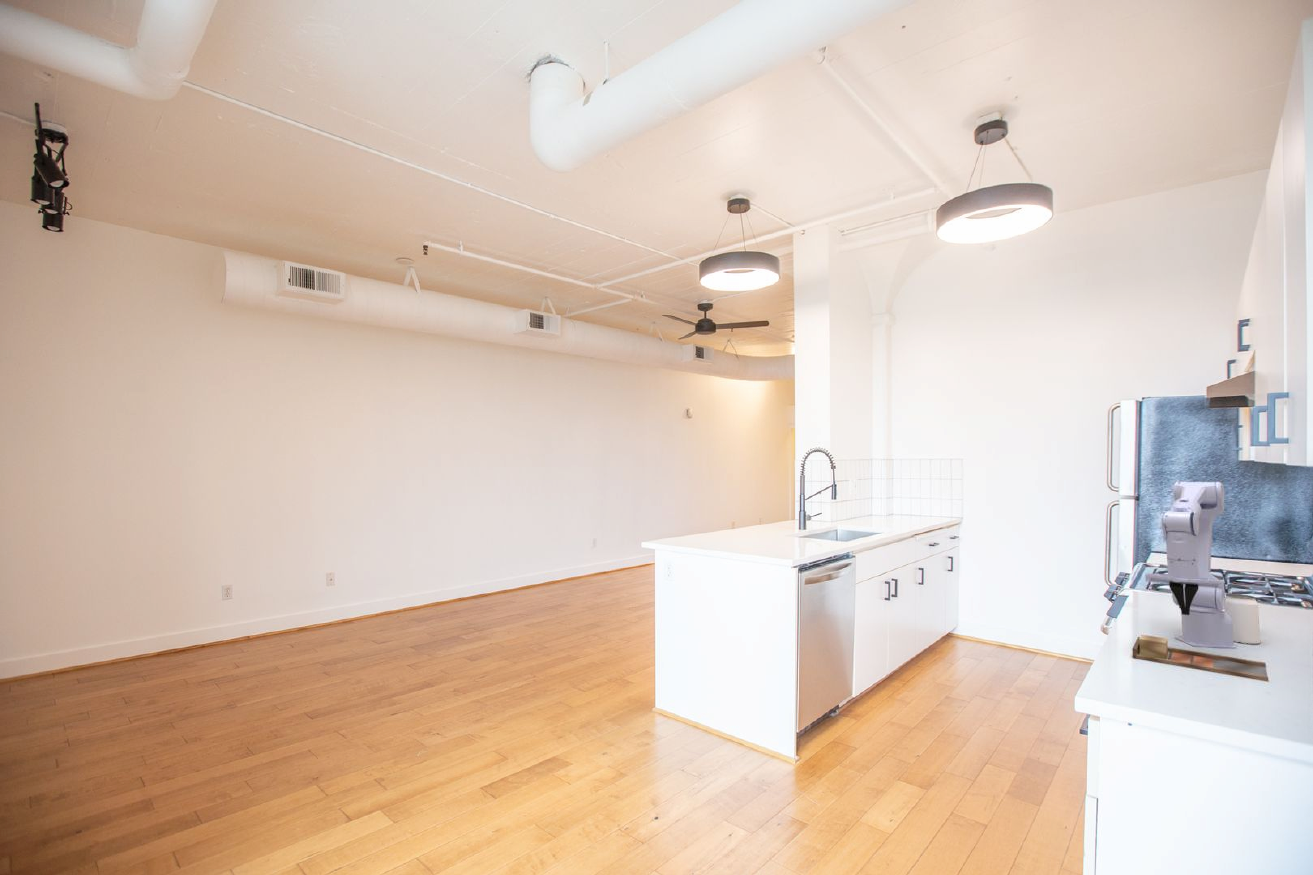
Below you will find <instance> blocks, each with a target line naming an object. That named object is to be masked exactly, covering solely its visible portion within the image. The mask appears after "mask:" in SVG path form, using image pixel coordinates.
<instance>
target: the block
mask: <svg viewBox="0 0 1313 875" xmlns="http://www.w3.org/2000/svg"><path fill="white" fill-rule="evenodd" d="M1139 637H1140V638H1139V645H1140V655H1144V656H1149V657H1155V658H1161V659H1167V657H1168V647H1169V646H1168V638H1167V637H1159V636H1152V635H1147V634H1146V635H1145V634H1140V636H1139Z"/></svg>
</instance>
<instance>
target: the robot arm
mask: <svg viewBox="0 0 1313 875" xmlns="http://www.w3.org/2000/svg"><path fill="white" fill-rule="evenodd" d="M1172 487H1173V488H1172V489H1173V490H1172V491H1173V498H1174V502H1173V503H1172V506H1171V507H1170V509H1169V510H1167V511H1166V512H1163V513H1161V519H1160V521H1161V525H1160V526H1161V528H1162V532H1163V538H1164V539H1163V540H1164V541H1165V545H1166V546H1165V547H1166V562H1167V563H1166V564H1167V573H1150V572H1146V573H1145V575H1144V576H1145V578H1144V579H1145V582H1147V583H1149V582H1150V583H1151V582H1152V583H1162V584H1169V589H1170V590H1171V597H1172V602H1173V603H1174V604H1175V605H1176V606H1178V608H1179V609H1180V614H1181V630H1182V636H1181V635H1180V636H1178V635H1174V639H1176V640H1178V641H1180V642H1183V643H1185V644H1188V645H1190V646H1192V647H1197V648H1219V649H1220V648H1221V649H1222V648H1223V649H1237V646H1236V645H1235V644H1234V643H1235V642H1234V638H1233V624H1232V620H1231V618H1230V616H1229V615H1228V614H1227V613H1226V612H1225V610H1224V608H1225V598H1226V592H1225V580H1224V579H1219V578H1218V577H1216V576H1214V575H1213V574H1211V567H1212V566H1211V564H1212V543H1213V542H1212V541H1213V540H1212V537H1213V525H1214V522H1215V518H1217V517H1219V516H1221V515H1223V513H1224V511H1225V487H1224V484H1223V483H1222V482H1221V481H1216V482H1215V481H1213V482H1211V481H1176V482H1175V483H1174V484H1173V486H1172Z"/></svg>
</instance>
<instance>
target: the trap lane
mask: <svg viewBox="0 0 1313 875" xmlns="http://www.w3.org/2000/svg"><path fill="white" fill-rule="evenodd" d="M1136 638H1137V639H1136V641H1135V642H1134V645H1133V647H1132V658H1133V659H1134V660H1135V659H1136V660H1140V661H1147V662H1152V663H1159V664H1164V665H1170V666H1176V667H1182V668H1186V669H1187V668H1189V669H1193V670H1200V671H1205V672H1210V673H1216V674H1217V673H1218V674H1221V675H1222V674H1223V675H1228V676H1234V677H1239V678H1245V679H1249V680H1250V679H1251V680H1256V681H1262V682H1269V676H1268V672H1267V667H1266V666H1267V665H1266V662H1265V661H1257V660H1251V659H1245V658H1238V657H1232V656H1225V655H1220V654H1213V653H1206V652H1202V651H1195V650H1194V651H1193V650H1189V649H1182V648H1181V649H1180V648H1175V647H1169V646H1168V657H1167V659H1161V658H1155V657H1149V656H1144V655H1140V645H1139V638H1140V636H1137V637H1136Z"/></svg>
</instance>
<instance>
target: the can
mask: <svg viewBox="0 0 1313 875" xmlns="http://www.w3.org/2000/svg"><path fill="white" fill-rule="evenodd" d="M1223 611H1224V612H1226V613H1227V614H1228V615H1229V616H1230V618H1231V620H1232V624H1233V638H1234V643H1237V642H1241V643H1240V644H1243V643H1248V644H1247V645H1259V644H1260V643H1261V628H1260V627H1261V626H1260V614H1259V613H1260V612H1259V604H1258V601H1257V600H1256V597H1255V596H1253V595H1248V594H1242V593H1225V608H1224V609H1223Z"/></svg>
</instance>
